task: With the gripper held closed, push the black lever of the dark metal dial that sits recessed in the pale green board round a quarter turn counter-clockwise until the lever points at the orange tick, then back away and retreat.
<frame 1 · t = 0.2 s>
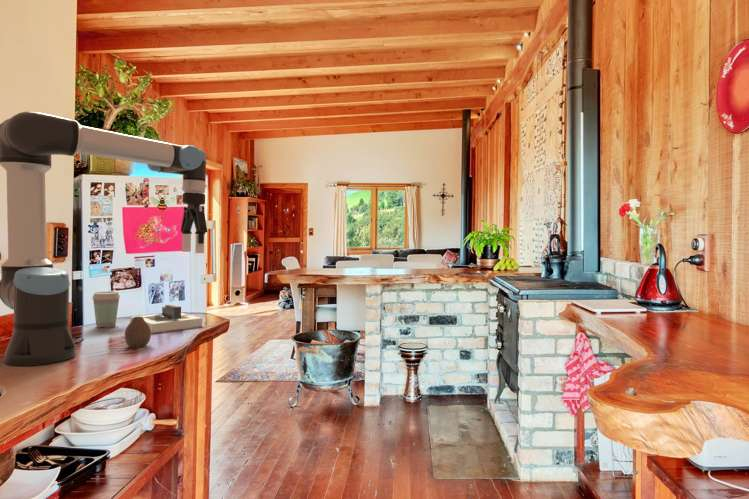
hand: (192, 252, 166), 27 cm above the counter, fingers open, 13 cm apart
dial board: (166, 325, 168), on the counter
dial: (169, 313, 167), point 5 cm above the counter, hinge at 0.0°
vase: (137, 347, 137), on the counter
coffee cup: (105, 327, 164), on the counter
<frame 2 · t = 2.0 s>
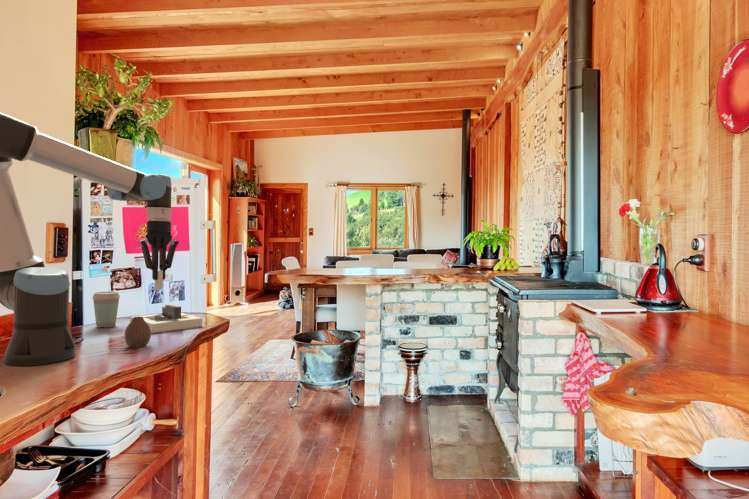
hand: (158, 289, 158), 14 cm above the counter, fingers closed
nothing on the counter moved.
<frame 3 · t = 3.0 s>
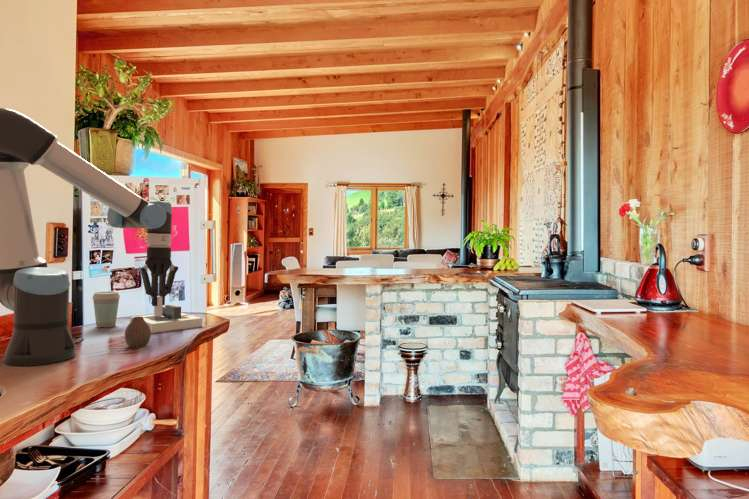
hand: (158, 315, 159), 5 cm above the counter, fingers closed
nothing on the counter moved.
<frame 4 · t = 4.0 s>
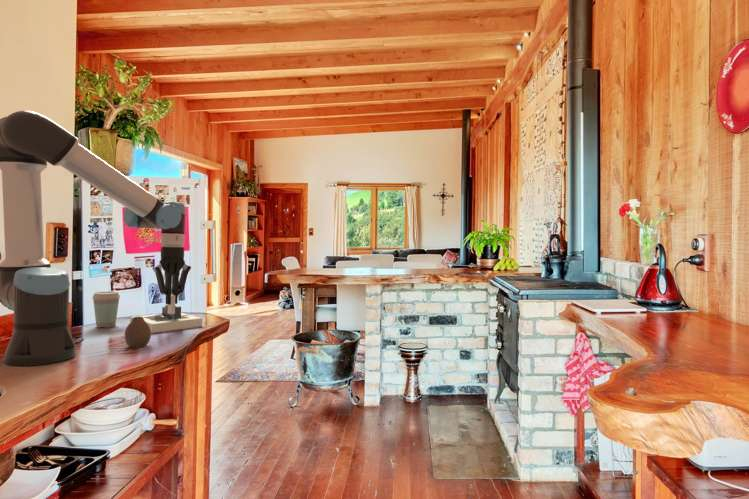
hand: (171, 313, 162), 6 cm above the counter, fingers closed
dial: (169, 313, 167), point 5 cm above the counter, hinge at 0.1°, touching gripper
everything else where it was.
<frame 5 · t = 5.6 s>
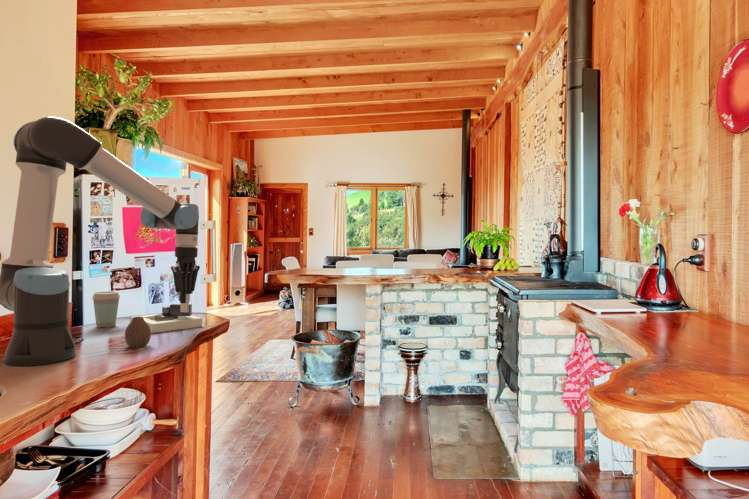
hand: (184, 311, 167), 5 cm above the counter, fingers closed
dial: (173, 312, 168), point 5 cm above the counter, hinge at 45.9°, touching gripper
everything else where it was.
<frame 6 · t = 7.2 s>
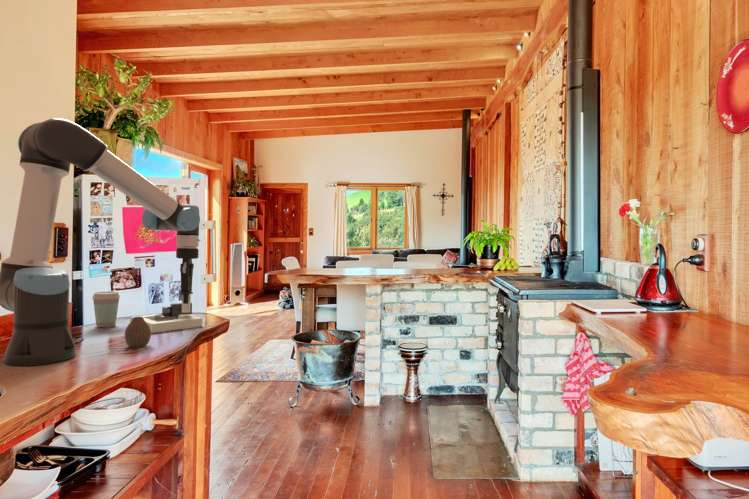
hand: (186, 312, 169), 5 cm above the counter, fingers closed
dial: (173, 311, 169), point 5 cm above the counter, hinge at 76.7°
everything else where it was.
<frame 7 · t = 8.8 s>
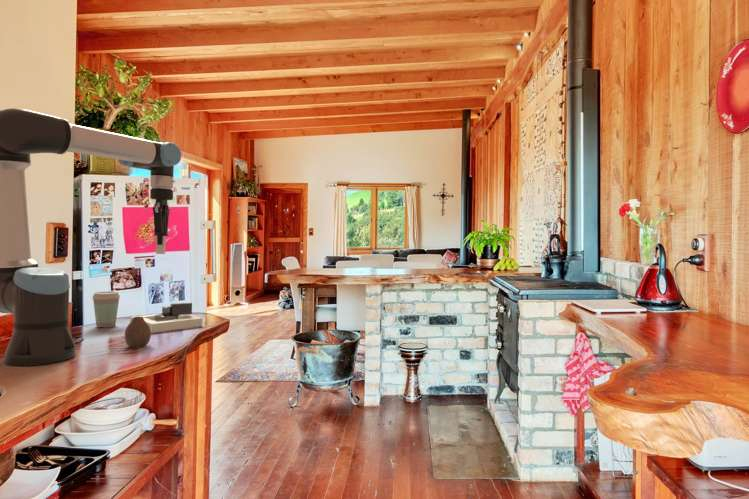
hand: (160, 253, 168), 26 cm above the counter, fingers closed
nothing on the counter moved.
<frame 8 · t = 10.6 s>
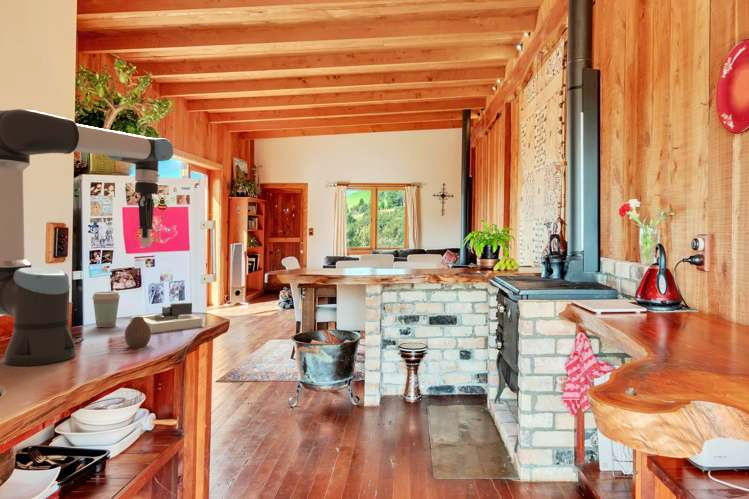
hand: (145, 246, 170), 28 cm above the counter, fingers closed
nothing on the counter moved.
at the end: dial at +77° (first picture: +0°); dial touching nothing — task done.
